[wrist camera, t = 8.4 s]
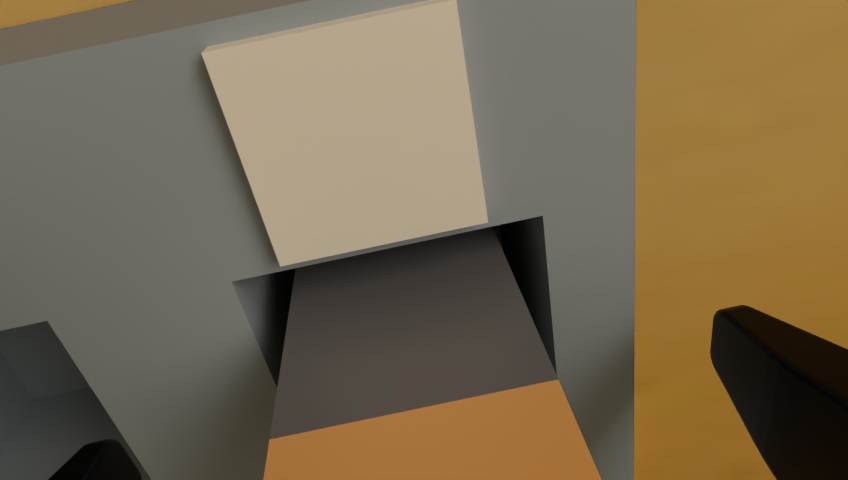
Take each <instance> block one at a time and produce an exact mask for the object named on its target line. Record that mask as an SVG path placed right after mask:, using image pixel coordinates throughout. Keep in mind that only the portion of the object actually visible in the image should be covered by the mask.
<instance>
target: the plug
mask: <svg viewBox="0 0 848 480" xmlns="http://www.w3.org/2000/svg"><path fill="white" fill-rule="evenodd" d="M263 480H601V477H600V475H599V473H598V470H597V468H596V466H595V463H594V461H593V459H592V456H591V454H590V452H589V449H588V447H587V445H586V442H585V440H584V438H583V435H582V433H581V431H580V428H579V426H578V424H577V422H576V419H575V417H574V415H573V412H572V410H571V408H570V405H569V403H568V401H567V398H566V396H565V394H564V391H563V389H562V387H561V384H560V382H559V380H558V377H557V375H556V373H555V370H554V368H553V366H552V363H551V361H550V359H549V356H548V354H547V352H546V350H545V347H544V345H543V343H542V340H541V338H540V336H539V333H538V331H537V329H536V326H535V324H534V322H533V319H532V317H531V315H530V312H529V310H528V308H527V305H526V303H525V301H524V298H523V296H522V294H521V291H520V289H519V287H518V284H517V282H516V280H515V277H514V275H513V273H512V271H511V268H510V266H509V264H508V261H507V259H506V257H505V254H504V252H503V250H502V247H501V245H500V243H499V240H498V238H497V236H496V233H495V231H494V229H493V226H492V227H487V228H483V229H478V230H473V231H468V232H464V233H459V234H454V235H450V236H445V237H440V238H435V239H431V240H426V241H421V242H417V243H412V244H407V245H402V246H398V247H393V248H388V249H384V250H379V251H374V252H369V253H365V254H360V255H355V256H351V257H346V258H341V259H336V260H332V261H327V262H322V263H318V264H313V265H308V266H303V267H299V268H296V269H295V276H294V282H293V289H292V295H291V302H290V308H289V315H288V321H287V328H286V334H285V341H284V348H283V354H282V361H281V367H280V374H279V380H278V387H277V393H276V400H275V406H274V413H273V419H272V426H271V433H270V439H269V446H268V452H267V459H266V465H265V472H264V478H263Z"/></svg>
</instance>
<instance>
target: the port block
mask: <svg viewBox="0 0 848 480" xmlns="http://www.w3.org/2000/svg"><path fill="white" fill-rule="evenodd" d="M635 80H636V0H136V1H132V2H127V3H122V4H117V5H113V6H108V7H103V8H99V9H94V10H89V11H84V12H80V13H75V14H70V15H66V16H61V17H56V18H51V19H47V20H42V21H37V22H33V23H28V24H23V25H18V26H14V27H9V28H4V29H0V480H48V479H49V478H50V477H51V476H52V475H53V474H54V473H55V472H56V471H57V470H59V469H60V468H61V467H62V466H63V465H64V464H65V463H66V462H67V461H68V460H69V459H70V458H71V457H72V456H73V455H74V454H75V453H76V452H77V451H78V450H79V449H81V448H82V447H83V446H84V445H86V444H88V443H91V442H95V441H100V440H105V439H110V438H112V439H116V440H118V441H120V443H121V444H122V445H123V447H124V448H125V450H126V451H127V453H128V454H129V456H130V457H131V459H132V460H133V462H134V464H135V465H136V467H137V468H138V470H139V471H140V473H141V476H142V480H263V478H264V472H265V465H266V459H267V452H268V446H269V439H270V433H271V426H272V419H273V413H274V406H275V400H276V393H277V387H278V380H279V374H280V367H281V361H282V354H283V348H284V341H285V334H286V328H287V321H288V315H289V308H290V302H291V295H292V289H293V282H294V276H295V269H296V268H299V267H303V266H308V265H313V264H318V263H322V262H327V261H332V260H336V259H341V258H346V257H351V256H355V255H360V254H365V253H369V252H374V251H379V250H384V249H388V248H393V247H398V246H402V245H407V244H412V243H417V242H421V241H426V240H431V239H435V238H440V237H445V236H450V235H454V234H459V233H464V232H468V231H473V230H478V229H483V228H487V227H492V226H493V229H494V231H495V233H496V236H497V238H498V240H499V243H500V245H501V247H502V250H503V252H504V254H505V257H506V259H507V261H508V264H509V266H510V268H511V271H512V273H513V275H514V277H515V280H516V282H517V284H518V287H519V289H520V291H521V294H522V296H523V298H524V301H525V303H526V305H527V308H528V310H529V312H530V315H531V317H532V319H533V322H534V324H535V326H536V329H537V331H538V333H539V336H540V338H541V340H542V343H543V345H544V347H545V350H546V352H547V354H548V356H549V359H550V361H551V363H552V366H553V368H554V370H555V373H556V375H557V377H558V380H559V382H560V384H561V387H562V389H563V391H564V394H565V396H566V398H567V401H568V403H569V405H570V408H571V410H572V412H573V415H574V417H575V419H576V422H577V424H578V426H579V428H580V431H581V433H582V435H583V438H584V440H585V442H586V445H587V447H588V449H589V452H590V454H591V456H592V459H593V461H594V463H595V466H596V468H597V470H598V473H599V475H600V477H601V480H634V290H635Z"/></svg>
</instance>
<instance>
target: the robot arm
mask: <svg viewBox="0 0 848 480" xmlns="http://www.w3.org/2000/svg"><path fill="white" fill-rule="evenodd" d="M710 354H711V360H712V363H713V366H714V368H715V370H716V372H717V374H718V376H719V378H720V379H721V381H722V383H723V385H724V387H725V389H726V391H727V393H728V394H729V396H730V398H731V400H732V402H733V404H734V406H735V408H736V410H737V411H738V413H739V415H740V417H741V419H742V421H743V423H744V425H745V426H746V428H747V430H748V432H749V434H750V436H751V438H752V440H753V442H754V443H755V445H756V447H757V449H758V450H759V452H760V454H761V456H762V458H763V459H764V461H765V462H766V464H767V465H768V467H769V469H770V470H771V472H772V473H773V475H774V476H775V478H776V479H777V480H848V349H846V348H843V347H841V346H839V345H836V344H834V343H832V342H830V341H827V340H825V339H823V338H820V337H818V336H816V335H813V334H811V333H809V332H807V331H804V330H802V329H800V328H797V327H795V326H793V325H790V324H788V323H786V322H784V321H781V320H779V319H777V318H774V317H772V316H770V315H768V314H765V313H763V312H761V311H758V310H756V309H754V308H751V307H749V306H745V305H739V306H734V307H730V308H725V309H721V310H718V311H717V312H716V313H715V315H714V319H713V328H712V339H711V349H710ZM48 480H142V476H141V473H140V471H139V470H138V468H137V467H136V465H135V464H134V462H133V460H132V459H131V457H130V456H129V454H128V453H127V451H126V450H125V448H124V447H123V445H122V444H121V443H120V441H118V440H116V439H112V438H110V439H105V440H100V441H95V442H91V443H88V444H86V445H84V446H83V447H82V448H81V449H79V450H78V451H77V452H76V453H75V454H74V455H73V456H72V457H71V458H70V459H69V460H68V461H67V462H66V463H65V464H64V465H63V466H62V467H61V468H60V469H59V470H57V471H56V472H55V473H54V474H53V475H52V476H51V477H50V478H49V479H48Z"/></svg>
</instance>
